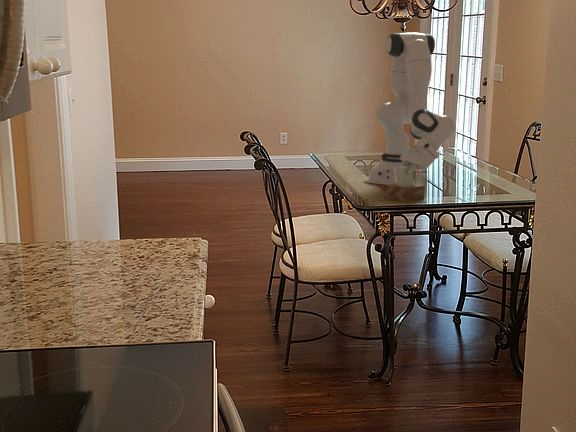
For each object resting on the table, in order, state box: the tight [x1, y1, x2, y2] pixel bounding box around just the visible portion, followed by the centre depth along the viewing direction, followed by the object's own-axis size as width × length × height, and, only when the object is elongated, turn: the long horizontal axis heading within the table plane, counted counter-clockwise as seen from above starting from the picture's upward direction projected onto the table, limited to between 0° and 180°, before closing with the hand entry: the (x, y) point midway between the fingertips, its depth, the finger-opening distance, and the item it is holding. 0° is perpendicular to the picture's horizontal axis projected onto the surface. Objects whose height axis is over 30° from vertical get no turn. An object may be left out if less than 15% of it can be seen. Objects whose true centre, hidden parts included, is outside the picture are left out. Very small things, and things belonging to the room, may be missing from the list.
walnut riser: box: [384, 183, 426, 203], centre depth 304 cm, size 12×12×6 cm
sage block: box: [395, 165, 416, 187], centre depth 302 cm, size 6×6×8 cm
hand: (403, 172), depth 301 cm, fingers open, 6 cm apart
